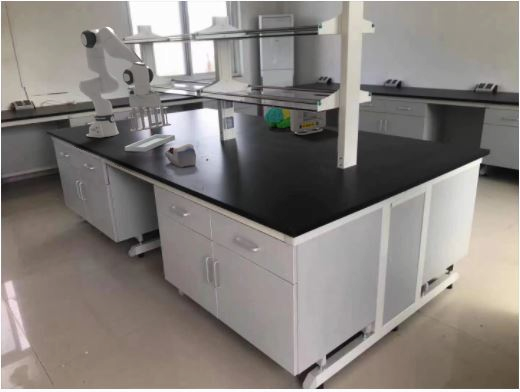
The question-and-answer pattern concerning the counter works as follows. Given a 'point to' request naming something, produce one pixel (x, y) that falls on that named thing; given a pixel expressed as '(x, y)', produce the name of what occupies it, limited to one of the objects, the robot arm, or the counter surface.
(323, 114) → the network device
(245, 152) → the counter surface
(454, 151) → the counter surface
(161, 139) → the tray
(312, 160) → the counter surface
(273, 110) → the brain model
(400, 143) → the counter surface
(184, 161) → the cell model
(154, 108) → the test tube rack
